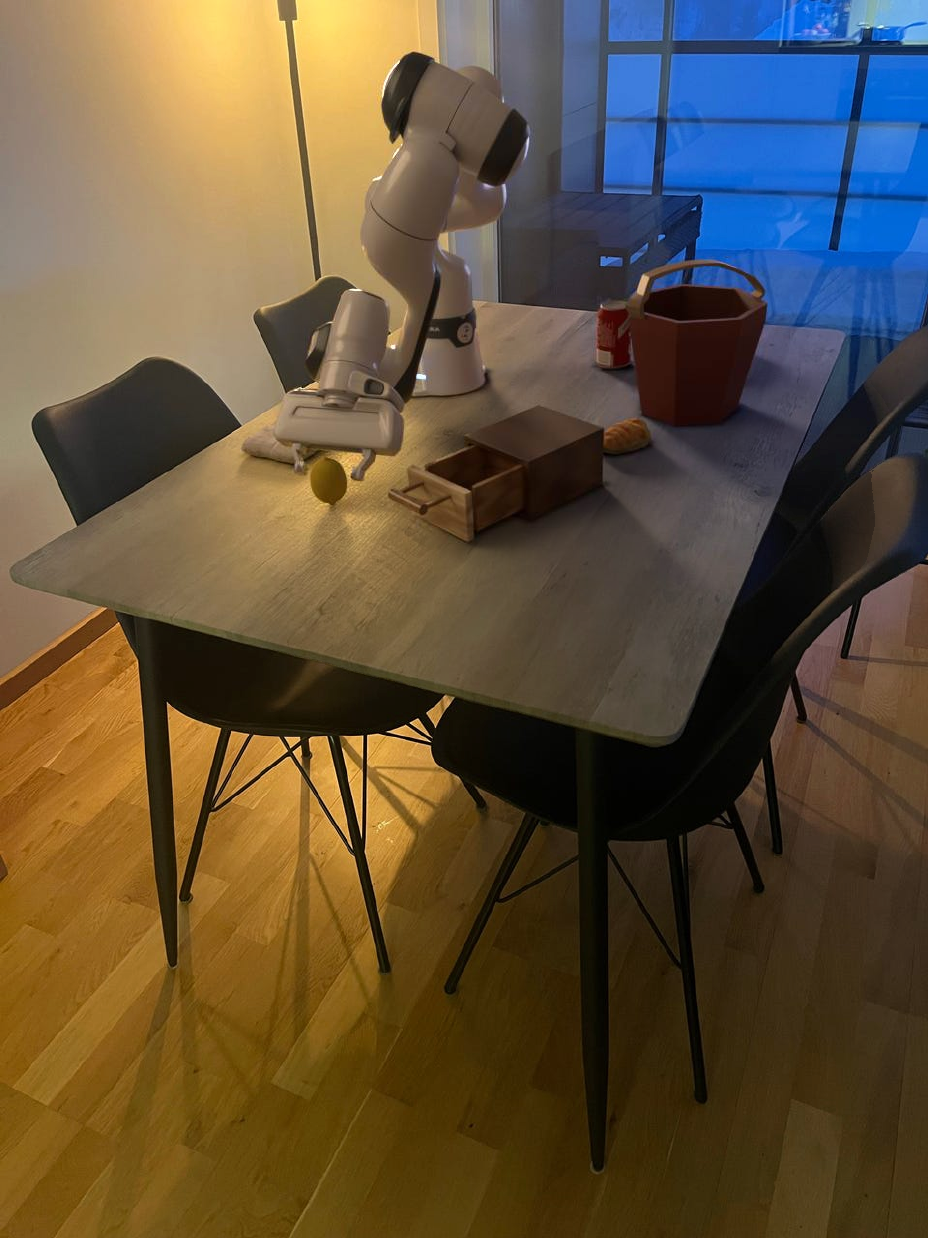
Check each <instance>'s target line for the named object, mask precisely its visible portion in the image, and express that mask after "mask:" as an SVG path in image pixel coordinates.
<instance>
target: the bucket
mask: <svg viewBox="0 0 928 1238" xmlns="http://www.w3.org/2000/svg"><path fill="white" fill-rule="evenodd" d="M703 267H717V268H718V267H719V268H721V269H725V270H728V271H731V272H734V273H736V274H737V275H738V274H739V275H740V276H743V277H744V278H745V279H746V280H747V282H748V283H749V284H750V285H751V286H752V288H753V289H754V290H753V291H752V292H751V293H750V292H748V291H746V290H744V289H743V288H741V287H734V286H719V285H705V284H687V283H679V284H675V285H671V286H666V287H661V288H656V289H653V285H654V284H655V281H656V280H659V279H661V278H663V277H666V276H668V275H671V274H674V273H677V272H680V271H685V270H688V269H694V268H703ZM765 295H766V289H765V286H763V285H762V283H761V282H760V281H759V280H758V278H756V275H752V274H750V273H748V272H746V271H744V270H742V269H740V268H739V267H736V266H734V265H731V264H729V263H725V262H723V261H719V260H716V259H694V260H693V259H692V260H682V261H678V262H674V263H670V264H669V263H668V264H666V265H662V266H659V267H656V268H653V269H650V270H649V271H647V272H645V273H642V275H641V276H640V280H639V282H638V285H637V289H636V292H635V293H634V294H633V295H631V296H630V298H628V300H627V301H626V302H627V303H626V304H625V307H626V309H627V311H628V313H629V315H630V335H631V350H632V355H633V356H632V357H633V363H634V370H635V376H636V384H637V390H638V397H639V404H640V411H641V415H643V416H645V417H649V418H651V419H654V420H657V421H660V422H663V423H665V424H668V425H672V426H674V427H677V426H693V425H711V424H712V425H713V424H719V423H720V422H721V421H723V420H724V419H726V418H727V417H728V416H730V415H731V414H732V413H733V412H735V411H736V410H737V409H738V407H739V404H740V400H741V397H742V394H743V391H744V388H745V385H746V382H747V378H748V376H749V373H750V370H751V367H752V364H753V362H754V361H753V360H754V358H755V354H756V351H757V348H758V345H759V342H760V339H761V336H762V333H763V330H764V327H765V324H766V321H767V320H766V319H767V312H768V306H769V305H768V304H769V303H768V302H767V301H765V300H763V298H764V296H765Z"/></svg>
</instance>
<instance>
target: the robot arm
mask: <svg viewBox="0 0 928 1238" xmlns="http://www.w3.org/2000/svg"><path fill="white" fill-rule="evenodd" d="M380 108H381V109H380V110H381V114H382V119H383V123H384V124H385V127H386V128H387V130H388V131H389V133H388V135H389V136H388V139H389V142H390V143H391V145H394V144H395V142H396V141H397V140H398V138H399V137H401V139H402V142H401V144H400V146H399V147H398V149H397V150H396V152H395V153H394V155H393V156H392V157H391V159H390V161H389V162H388V163H387V166H386V167H385V169H384V171H383V172H382V175H381V176H379V177H377V178H374V179H372V181H371V182H370V184H369V186H368V188H367V190H366V193H365V198H364V209H365V210H364V211H365V212H364V215H363V217H362V218H363V219H362V222H361V226H360V231H359V233H360V234H359V236H360V237H359V238H360V243H361V247H362V250H363V252H364V255H365V257H366V259H367V260H368V262H369V263H370V266H372V268H373V269H374V270H375V271H376V273H377V274H378V275H380V277H382V278H383V279H384V280H385V281H387V283H388V284H390V285H391V287H393V288H394V290H396V292H398V293H399V295H400V296H401V297H402V298H403V299H404V301H405V302H406V304H407V307H406V311H405V314H404V318H403V321H402V326H401V329H400V331H399V332H400V333H399V336H398V340H397V341H396V342H395V343H394V344H392V345H388V340H389V334H390V333H389V332H390V324H391V306H390V304H389V302H388V301H386V300H385V299H384V298H383V297H382V296H379V295H378V294H375V293H373V292H371V291H367V290H365V289H358V288H351V289H350V288H349V289H347V290H345V291H344V292H343V294H341V298H340V300H339V302H338V305H337V308H336V311H335V313H334V317H333V319H332V321H328V322H326V323H324V324H322V325H320V326H318V327H316V328H315V329H313V330H312V332H311V334H310V337H309V342H308V346H307V352H306V356H305V360H304V363H303V365H304V367H305V370H306V372H307V374H308V376H309V377H310V379H311V380H312V381H313V382H315V383H316V384H317V388H302V387H294V388H292V389H291V390H289V391H288V392H286V393H285V394H284V395H283V398H282V401H281V402H282V403H281V408H280V410H279V412H278V415H277V417H276V420H275V421H276V423H275V426H274V430H273V434H274V437H275V439H276V440H277V441H278V442H279V443H280V444H282V445H283V446H285V447H292V449H291V450H292V453H293V456H294V459H295V461H296V462H295V464H294V466H293V473H294V474H295V475H297V476H305V477H306V476H308V471H309V468H310V465H309V464H308V463H306V462H305V461H304V460H303V457H302V454H303V455H305V454H306V450H307V449H317V450H318V451H328V452H329V451H330V452H338V453H339V452H341V453H352V454H361V456H362V457H363V458H362V459H361V461H360V462H359V463H358V465H357V466H355V465H354V466H351V472H350V477H349V478H350V479H351V480H352V481H354V482H364V480H365V476H366V472H367V471H368V470H369V469H370V468H371V467H372V465H373V464H374V463H375V461H376V457H377V456H384V457H386V456H387V457H396V456H397V455H398V454H399V452H400V451H401V450H402V445H403V441H404V433H405V420H404V416H403V415H402V413H403V411H404V409H405V406H406V404H408V403H409V402H410V401H411V397H425V396H426V397H427V396H455V395H461V394H465V393H469V392H472V391H475V390H477V389H479V388H480V387H482V386H483V385H484V384H485V382H486V377H485V373H486V372H487V368H486V365H485V364H483V360H482V352H481V346H480V345H481V344H480V338H479V333H478V332H477V331H476V329H477V319H478V318H477V314H476V308H475V307H474V301H473V281H472V279H473V278H472V271H471V268H470V265H469V263H467V261H466V260H465V259H464V258H463V257H461V256H460V255H458V254H455V253H453V252H451V251H448V250H446V249H442V247H441V244H440V239H439V238H440V236H441V235H443V234H448V233H455V232H456V233H457V232H463V231H469V230H475V229H478V228H481V227H484V226H486V225H489V224H491V223H494V222H497V221H498V220H499V219H500V218H501V216H502V214H503V212H504V211H505V208H506V204H507V199H508V195H507V193H508V191H507V186H506V182H507V181H508V180H509V179H511V178H512V177H513V176H514V175H516V174H517V173H518V171H519V170H520V169H521V167H522V166H523V165H524V162H525V160H526V158H527V155H528V151H529V147H530V137H531V135H532V132H531V129H530V126H529V122H528V121H527V120H526V118H525V117H524V116H523V115H522V114H521V113H520V112H519V111H518V110H517V109H516V108H512V109H511V107H509V106H508V105H507V104H506V103H505V96H504V90H503V87H502V86H501V84H500V82H499V80H498V79H497V77H496V76H495V75H494V74H493V73H491V71H489V70H488V69H485V68H483V67H481V66H476V65H467V66H463V67H460V68H459V69H456V70H454V69H452V68H450V67H448V66H445V65H443V64H442V63H439V62H436V60H435V58H434V57H432V56H430V55H428V54H425V53H421V52H418V51H411V52H409V53H406V54H404V55H403V56H402V58H401V59H400V60H399V61H398V62H397V63H396V64H395V65H394V66H393V67H392V69H391V70H390V71H389V73H388V75H387V77H386V79H385V82H384V85H383V89H382V99H381V103H380Z"/></svg>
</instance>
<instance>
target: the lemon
mask: <svg viewBox="0 0 928 1238" xmlns="http://www.w3.org/2000/svg"><path fill="white" fill-rule="evenodd" d="M309 482H310V488H311V491H312V493H313V495H314V496H315V498H316V499H318V500H319V501H320V502H322V503H324V504H328V505H329V506H334V505H336V503H337V502H338V503H339V501H341V500H342V499H343V498H344V497H345V495H346V493H347V491H348V477H347V473H346V471H345V468H344V467H343V465H342V464H341V463H340V462H339V461H338V460H336V459H334V458H332V457H328V456H323V457H322V458H320V459H318V460H317V461H316V462H315V463H314V464H313V465H312V468H311V470H310V475H309Z"/></svg>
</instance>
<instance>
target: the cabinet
mask: <svg viewBox="0 0 928 1238" xmlns="http://www.w3.org/2000/svg"><path fill="white" fill-rule="evenodd" d="M604 432H605V427H603V426H600V425H598V424H594V423H592V422H588V421H586V420H582V419H580V418H577V417H573V416H572V415H568V414H565V413H562V412H559V411H556V410H553V409H551V408H548V407H545V406H542V405H540V404H537V405H536V406H533V407H531V408H529V409H526V410H524V411H521V412H519V413H515V414H514V415H511V416H509V417H507V418H504V419H501V420H499V421H497V422H494V423H492V424H489V425H487V426H485V427H481V428H479V429H477V430H474V431H472V432H470V433H467V434H464V435H463V439H464V442H463V443H464V448H466V447H469V446H471V445H475V446H478V447H480V448H483V449H485V450H488V451H490V452H492V453H495V454H497V455H500V456H502V457H505V458H507V459H510V460H512V461H514V462H517V463H519V464H522V465H524V466H525V503H526V508H524V509H522V510H520V511H518V512H516V513H515V514H516V515H517V516H520V517H521V518H524V519H526V520H528V521H531V520H533V519H535V518H537V517H539V516H541V515H543V514H546V513H548V512H549V511H552V510H553V509H555V508H558V507H559V506H562V505H564V504H565V503H567V502H569V501H571V500H573V499H576V498H579V496H582V495H583V494H585V493H587V492H590V491H591V490H594V489H596V488H598V487H600V486H601V485H603V483H604V482H603V480H604V478H603V477H604V452H603V451H604Z"/></svg>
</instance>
